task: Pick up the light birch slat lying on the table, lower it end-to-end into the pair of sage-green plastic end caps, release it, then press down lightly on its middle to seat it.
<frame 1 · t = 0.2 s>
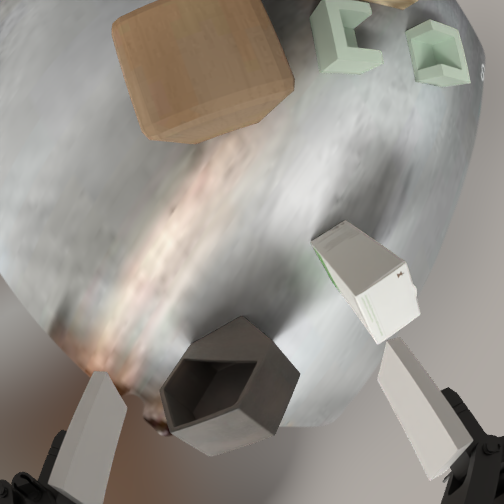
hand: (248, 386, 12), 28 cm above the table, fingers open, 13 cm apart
end caps: (384, 50, 30), on the table
wooden block: (214, 98, 32), on the table
skincare box: (340, 251, 40), on the table
planter: (226, 346, 45), on the table
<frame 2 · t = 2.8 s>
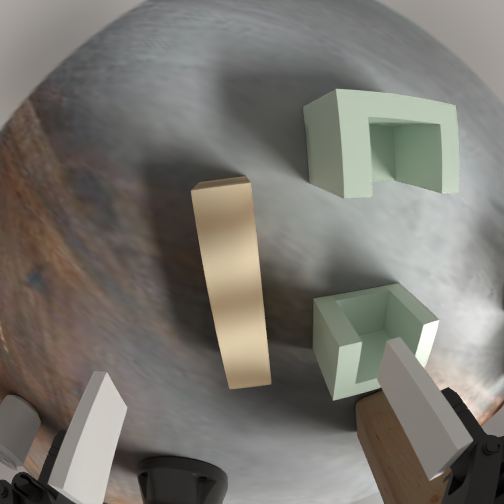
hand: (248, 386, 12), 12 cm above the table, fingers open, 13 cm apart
slat: (235, 276, 24), on the table
can: (25, 406, 29), on the table
end caps: (361, 238, 23), on the table
wooden block: (386, 403, 32), on the table
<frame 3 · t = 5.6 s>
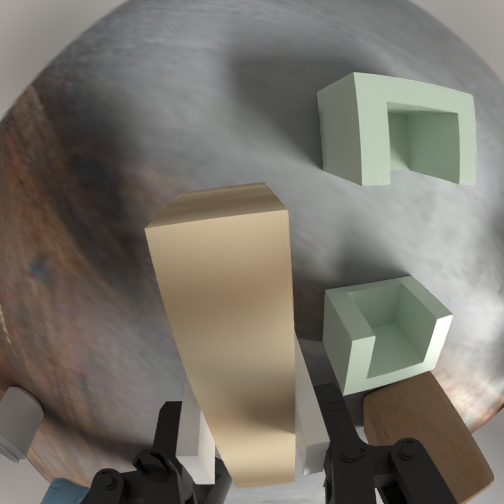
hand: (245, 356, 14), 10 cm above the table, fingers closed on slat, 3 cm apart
slat: (244, 344, 14), point 9 cm above the table, touching gripper
can: (28, 398, 30), on the table
end caps: (375, 229, 22), on the table
wooden block: (393, 398, 32), on the table
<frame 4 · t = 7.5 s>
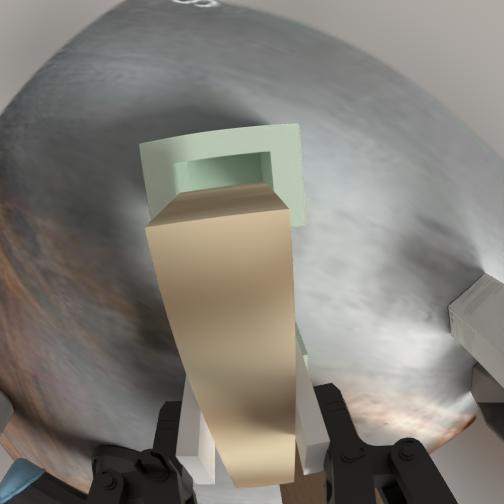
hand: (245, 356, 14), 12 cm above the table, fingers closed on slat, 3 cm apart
slat: (244, 344, 14), point 11 cm above the table, touching gripper
can: (1, 395, 31), on the table
end caps: (237, 265, 25), on the table
wooden block: (310, 419, 34), on the table
skincare box: (468, 301, 30), on the table
planter: (484, 369, 37), on the table
when the fingers open (1 cm above the table, at t = 9.6 s): slat stays where it is, resting on end caps.
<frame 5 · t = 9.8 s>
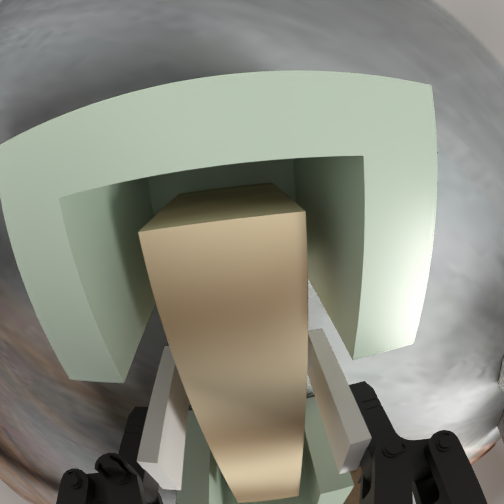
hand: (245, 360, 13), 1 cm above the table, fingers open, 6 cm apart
slat: (247, 356, 13), point 1 cm above the table, touching end caps
end caps: (244, 349, 14), on the table
wooden block: (329, 485, 24), on the table
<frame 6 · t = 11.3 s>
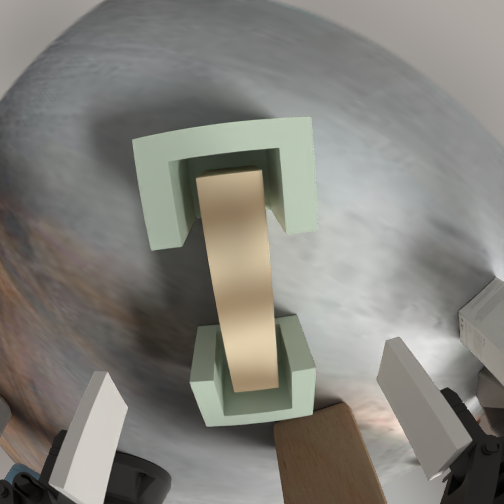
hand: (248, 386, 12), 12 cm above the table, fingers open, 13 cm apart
slat: (242, 272, 22), point 1 cm above the table, touching end caps
end caps: (240, 271, 23), on the table
wooden block: (314, 427, 33), on the table
skincare box: (478, 306, 28), on the table
planter: (490, 373, 35), on the table
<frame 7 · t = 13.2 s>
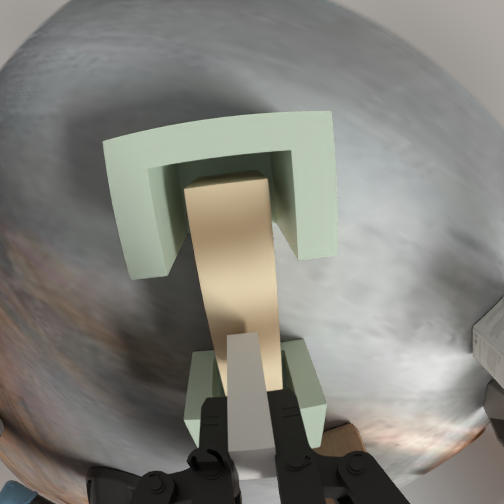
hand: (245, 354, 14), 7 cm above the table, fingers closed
slat: (242, 295, 19), point 1 cm above the table, touching end caps
end caps: (240, 292, 20), on the table
wooden block: (318, 447, 29), on the table
skincare box: (491, 320, 25), on the table
planter: (498, 384, 32), on the table
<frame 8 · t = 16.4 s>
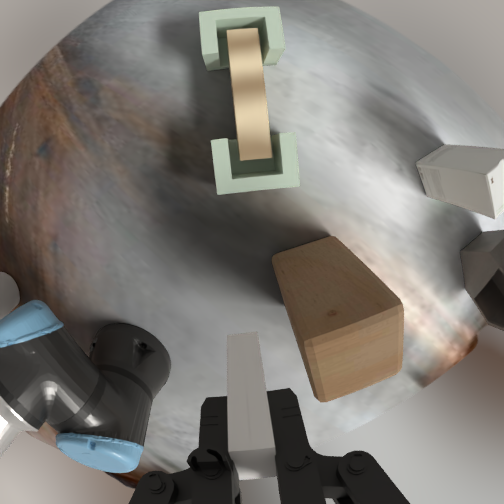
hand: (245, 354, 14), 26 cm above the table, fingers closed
slat: (246, 97, 32), point 1 cm above the table, touching end caps
can: (9, 287, 39), on the table
end caps: (245, 101, 33), on the table
wooden block: (309, 272, 42), on the table
skincare box: (435, 168, 38), on the table
planter: (474, 263, 45), on the table
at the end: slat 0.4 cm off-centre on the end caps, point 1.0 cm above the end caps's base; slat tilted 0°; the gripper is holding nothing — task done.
